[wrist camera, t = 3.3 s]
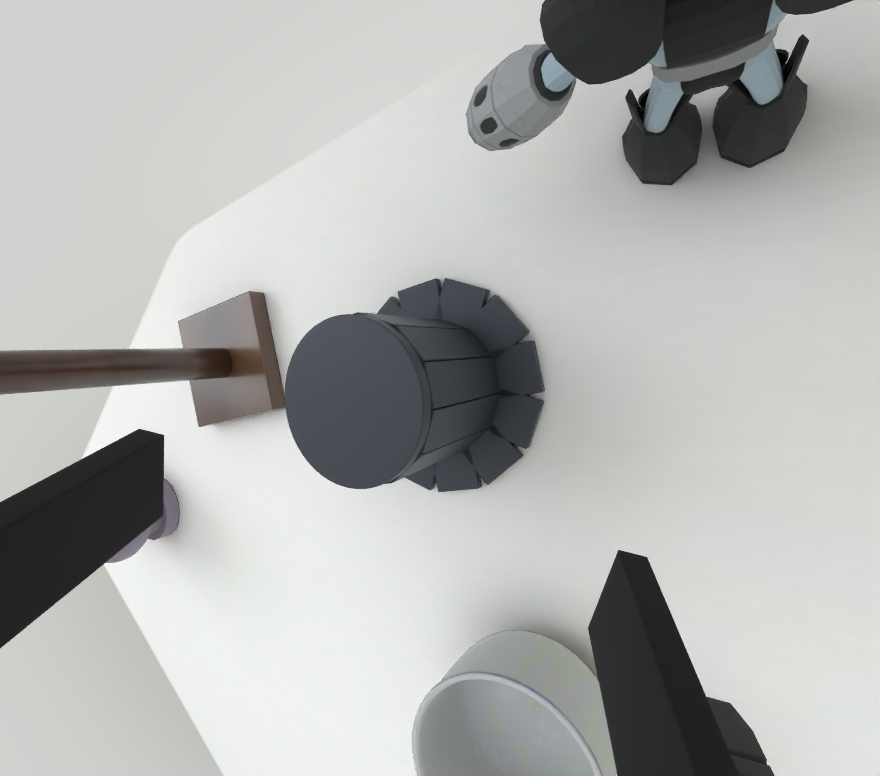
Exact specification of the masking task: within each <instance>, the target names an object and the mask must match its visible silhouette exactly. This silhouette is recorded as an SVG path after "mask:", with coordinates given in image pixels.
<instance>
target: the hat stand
mask: <svg viewBox="0 0 880 776" xmlns="http://www.w3.org/2000/svg"><path fill="white" fill-rule="evenodd" d="M178 324H179V329H180V334H181V339H182V345H183V348H177V349H103V350H102V349H101V350H99V349H98V350H21V351H0V395H1V394H14V393H27V392H39V391H40V392H41V391H54V390H67V389H81V388H93V387H107V386H120V385H134V384H147V383H160V382H174V381H187V380H190V385H191V390H192V395H193V400H194V406H195V411H196V416H197V421H198V426H199V427H202V426H208V425H214V424H218V423H222V422H227V421H231V420H235V419H240V418H244V417H248V416H253V415H257V414H261V413H266V412H270V411H274V410H279V409H283V408H286V407H285V399H284V394H283V389H282V384H281V379H280V374H279V369H278V364H277V359H276V354H275V349H274V344H273V339H272V334H271V329H270V324H269V319H268V314H267V309H266V304H265V299H264V294H263V293H260V292H251V291H249V292H246V293H244V294H242V295H239V296H237V297H235V298H232V299H230V300H227V301H225V302H223V303H220V304H218V305H216V306H213V307H211V308H208V309H206V310H204V311H201V312H199V313H197V314H194V315H192V316H190V317H187V318H185V319H182V320H180V321H178Z"/></svg>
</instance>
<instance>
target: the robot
mask: <svg viewBox="0 0 880 776" xmlns="http://www.w3.org/2000/svg"><path fill="white" fill-rule="evenodd" d="M850 1H853V0H545V1H544V3H543V4H542V10H541V16H540V23H541V27H542V32H543V36H544V41H545V42H546V44H540V45H525V46H524V47H523V48H522V49H520V50H518V51H516V52H514V53H512V54H511V55H509V56H508V57H507V58H506V59H505V60H503V61H502V62H501V63H500V64H499V65H498V66H496V67H495V68H494V69H493V70H492V71H491V72H490V73H489V74H488V75H487V76H486V77H485V78H484V79H483V80H482V81H481V83H480V84H479V85H478V86H477V87H476V88H475V91H474V93H473V96H472V98H471V101H470V104H469V107H468V110H467V113H466V117H467V124H468V132H469V134H470V136H471V137H472V139H473V140H474V142H475V143H476V144H478V145H480V146H481V147H483V148H485V149H487V150H489V151H494V150H504V149H510V148H513V147H515V146H517V145H520V144H522V143H525V142H527V141H528V140H530V139H532V138H534V137H536V136H537V135H538V134H539V133H541V132H542V131H543V130H544V129H545V128H546V127H547V126H549V125H550V124H551V123H552V122H554V121H555V120H556V119H557V118H558V117H559V116H560V115H561V114H562V113H563V111H564V109H565V107H566V105H567V104H568V102H569V100H570V98H571V96H572V93H573V90H574V87H575V84H576V79H575V77H576V78H578V79H579V80H581V81H583V82H585V83H587V84H602V83H606V82H609V81H613V80H616V79H619V78H622V77H624V76H627V75H629V74H632V73H634V72H635V71H637V70H638V69H640V68H641V67H643V66H645V65H646V64H647V63H648V62H649V63H650V64H651V65H652V70H653V74H654V77H653V80H652V84H651V87H650V89H648V90H646V91H645V92H644V93H643V94H642V95H641V96H640V97H639V99H638V102H637V100H636V98H635V96H634V94H633V92H632V90H630V89H629V91H628V93H627V95H626V97H625V98H626V101H627V104H628V107H629V109H630V112H631V115H632V118H633V119H632V120H631V121H630V123H629V125H628V127H627V129H626V131H625V133H624V134H623V136H622V139H623V149H624V154H625V158H626V161H627V162H628V163H629V165H630V166H631V168H632V169H633V170H634V172H635V173H636V175H637V176H638V178H639V179H640V180H641V182H642V183H645V184H661V185H672V184H673V183H675V182H676V181H677V180H678V179H679V178H680V177H681V176H683V175H684V174H685V173H686V172H687V171H688V170H689V169H691V168H692V167H693V166H694V165H695V164H696V163H697V158H698V152H699V145H700V139H701V133H702V125H701V120H700V115H699V113H698V110H697V108H696V105H692V104H690V103H688V102H689V100H690V99H691V97H692V96H693V94H697V93H700V92H703V91H705V90H708V89H710V88H714V87H719V86H724V85H727V86H728V87H729V88H728V90H727V91H726V92H725V93H724V94H723V95H722V96H721V97H720V98H719V99H718V102H717V105H716V107H715V111H714V119H713V131H714V134H715V138H716V142H717V145H718V149H719V153H720V156H721V158H723V159H726V160H729V161H732V162H734V163H737V164H740V165H743V166H745V167H748V168H751V167H753V166H755V165H757V164H759V163H761V162H763V161H765V160H767V159H769V158H771V157H773V156H776V155H778V154H780V153H782V152H784V150H785V148H786V147H787V145H788V143H789V141H790V139H791V137H792V135H793V133H794V132H795V130H796V128H797V126H798V124H799V122H800V120H801V118H802V116H803V114H804V111H805V108H806V101H807V85H806V84H805V83H803V82H802V81H801V80H800V78H799V77H798V76H797V75H796V72H797V70H798V67H799V65H800V62H801V60H802V57H803V55H804V52H805V50H806V47H807V45H808V42H809V40H808V39H807V38H806V37H805V36H804V35H803V34H802V35H801V36H800V37H799V39H798V41H797V43H796V45H795V47H794V50H793V52H792V54H791V56H790V58H789V60H788V55H789V53H788V52H787V51H786V50H781V49H775V47H774V44H773V41H772V39H773V38H774V36H775V35H776V32H777V28H778V24H779V23H780V22H781V21H782V20H783V18H784V17H785V16H786V15H787V14H794V15H799V14H812V13H816V12H820V11H823V10H827V9H831V8H834V7H836V6H839V5H842V4H845V3H847V2H850ZM787 60H788V62H787V64H785V63H786V61H787ZM638 103H639V104H638ZM639 105H640V106H641V107H640V106H639Z"/></svg>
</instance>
